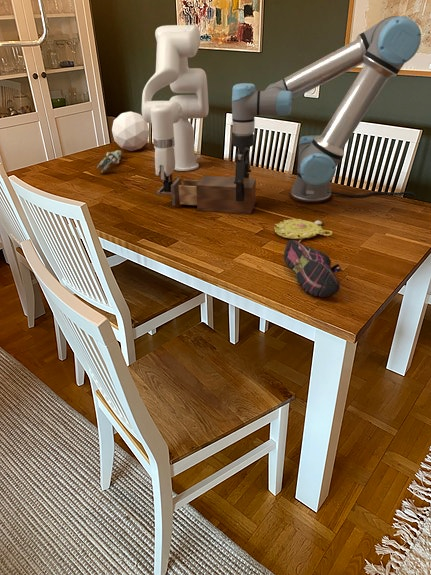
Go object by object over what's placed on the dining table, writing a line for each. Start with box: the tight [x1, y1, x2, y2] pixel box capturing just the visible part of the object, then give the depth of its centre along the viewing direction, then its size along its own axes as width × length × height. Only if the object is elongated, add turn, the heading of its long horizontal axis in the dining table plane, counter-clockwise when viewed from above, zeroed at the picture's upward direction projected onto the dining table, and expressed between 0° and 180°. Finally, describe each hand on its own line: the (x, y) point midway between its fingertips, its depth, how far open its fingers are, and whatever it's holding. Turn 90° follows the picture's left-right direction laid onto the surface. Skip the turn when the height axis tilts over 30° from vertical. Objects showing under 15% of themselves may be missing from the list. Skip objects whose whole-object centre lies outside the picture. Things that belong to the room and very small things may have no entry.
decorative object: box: [273, 218, 333, 243], centre depth 145 cm, size 21×2×20 cm
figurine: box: [96, 150, 123, 174], centre depth 213 cm, size 7×8×30 cm
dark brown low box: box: [196, 175, 257, 215], centre depth 164 cm, size 20×10×10 cm, turn 77°
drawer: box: [156, 177, 200, 207], centre depth 167 cm, size 25×9×8 cm, turn 77°
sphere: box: [111, 111, 150, 152], centre depth 232 cm, size 19×20×20 cm
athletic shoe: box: [283, 239, 344, 298], centre depth 119 cm, size 11×22×12 cm
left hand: (168, 191), depth 169 cm, fingers closed
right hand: (242, 195), depth 163 cm, fingers closed on dark brown low box, 10 cm apart
